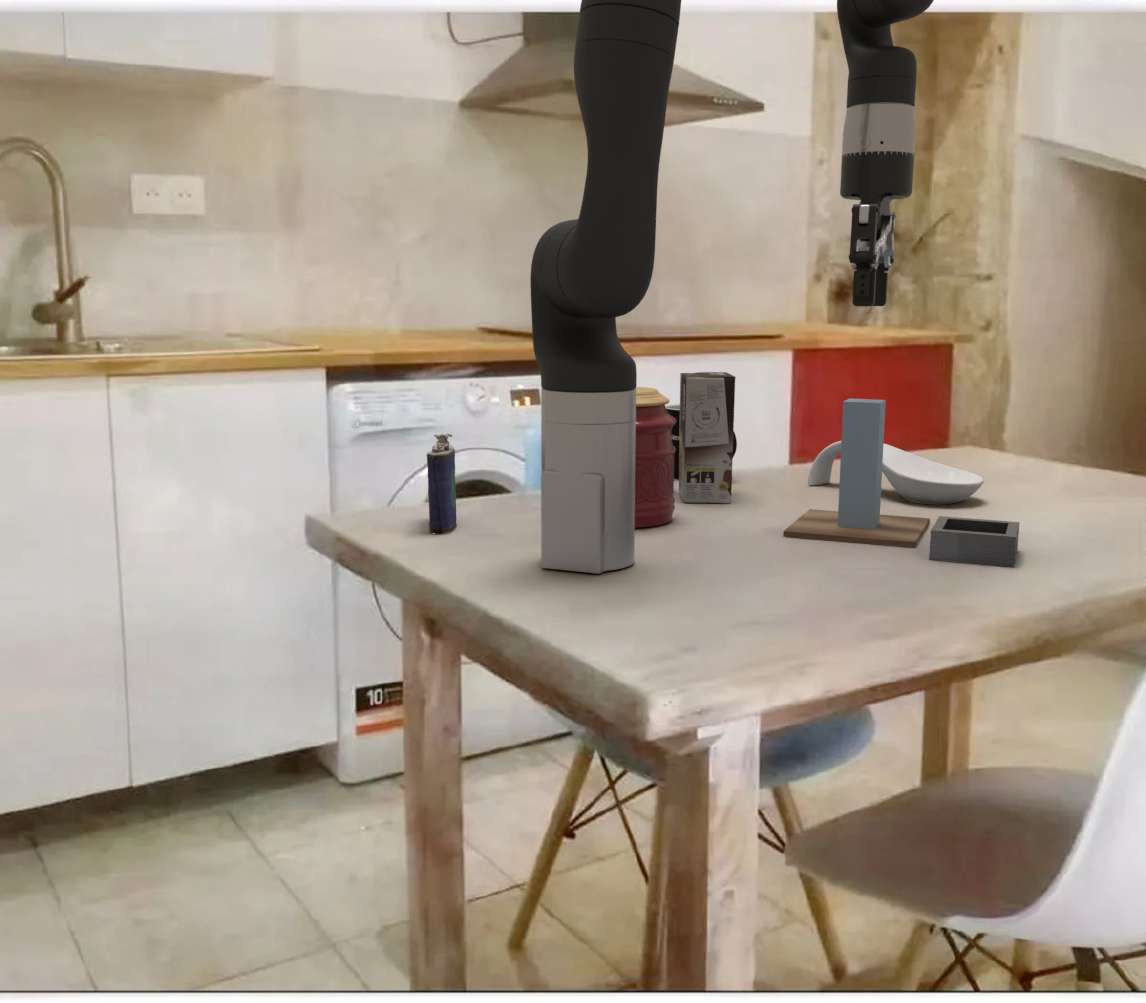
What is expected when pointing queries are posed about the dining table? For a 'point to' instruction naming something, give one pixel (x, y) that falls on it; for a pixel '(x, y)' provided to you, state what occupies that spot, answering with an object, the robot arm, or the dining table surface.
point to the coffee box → (706, 436)
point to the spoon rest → (908, 476)
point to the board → (859, 529)
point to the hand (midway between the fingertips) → (869, 306)
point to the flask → (441, 486)
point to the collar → (974, 541)
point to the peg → (861, 463)
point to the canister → (653, 459)
